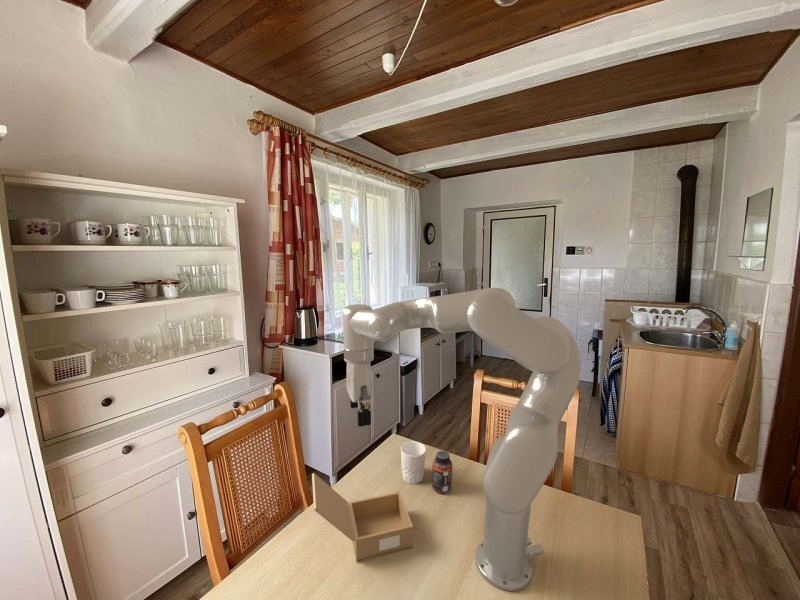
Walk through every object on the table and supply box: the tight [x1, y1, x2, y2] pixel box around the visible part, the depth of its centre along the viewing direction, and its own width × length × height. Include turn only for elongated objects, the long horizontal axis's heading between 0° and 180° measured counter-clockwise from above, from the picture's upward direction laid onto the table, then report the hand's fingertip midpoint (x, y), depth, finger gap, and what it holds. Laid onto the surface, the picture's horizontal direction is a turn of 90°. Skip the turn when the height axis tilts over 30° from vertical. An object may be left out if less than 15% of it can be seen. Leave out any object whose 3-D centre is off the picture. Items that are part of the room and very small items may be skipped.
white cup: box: [400, 440, 427, 485], centre depth 108 cm, size 8×8×10 cm
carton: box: [348, 491, 414, 563], centre depth 87 cm, size 14×12×6 cm
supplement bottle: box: [431, 450, 453, 495], centre depth 103 cm, size 6×6×11 cm
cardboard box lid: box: [311, 472, 355, 543], centre depth 82 cm, size 14×12×1 cm
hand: (360, 415), depth 89 cm, fingers open, 9 cm apart
